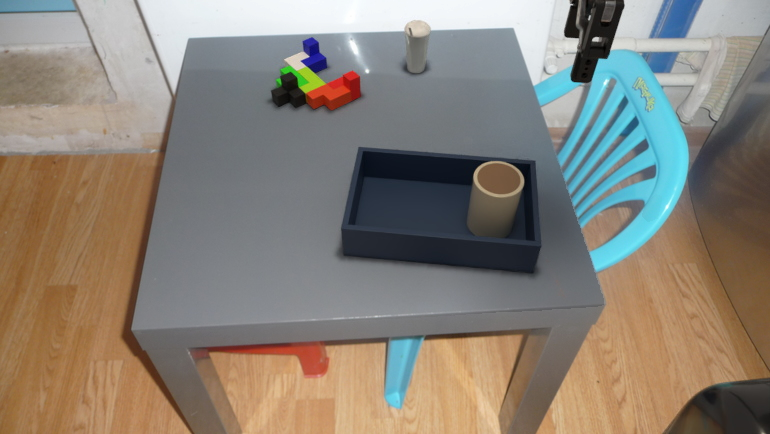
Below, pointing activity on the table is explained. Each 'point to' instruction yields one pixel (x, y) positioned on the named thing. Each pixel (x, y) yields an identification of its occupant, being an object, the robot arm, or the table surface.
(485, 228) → the cup
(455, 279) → the table surface
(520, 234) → the navy tray
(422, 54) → the milkshake
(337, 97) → the building blocks
